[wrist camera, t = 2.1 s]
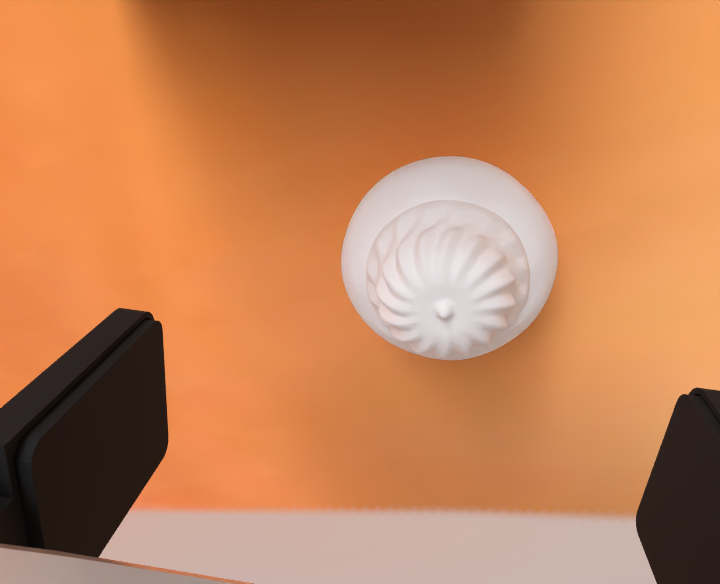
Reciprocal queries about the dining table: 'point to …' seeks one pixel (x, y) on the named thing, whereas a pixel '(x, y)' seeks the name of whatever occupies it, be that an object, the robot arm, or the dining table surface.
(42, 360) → the dining table surface
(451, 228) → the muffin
